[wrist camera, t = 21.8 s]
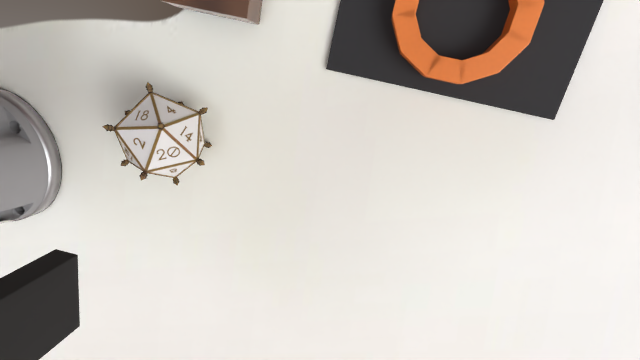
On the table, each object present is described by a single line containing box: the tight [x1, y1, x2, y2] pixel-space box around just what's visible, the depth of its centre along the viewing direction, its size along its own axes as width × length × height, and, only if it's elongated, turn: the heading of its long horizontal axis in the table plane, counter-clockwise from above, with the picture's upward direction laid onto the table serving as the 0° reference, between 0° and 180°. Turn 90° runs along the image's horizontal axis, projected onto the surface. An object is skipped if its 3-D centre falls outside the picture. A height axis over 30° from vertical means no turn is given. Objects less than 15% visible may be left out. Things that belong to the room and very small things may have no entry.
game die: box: [102, 83, 212, 185], centre depth 32 cm, size 9×8×10 cm
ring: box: [391, 0, 544, 84], centre depth 28 cm, size 11×11×2 cm
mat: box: [326, 0, 603, 120], centre depth 29 cm, size 20×13×1 cm, turn 78°
